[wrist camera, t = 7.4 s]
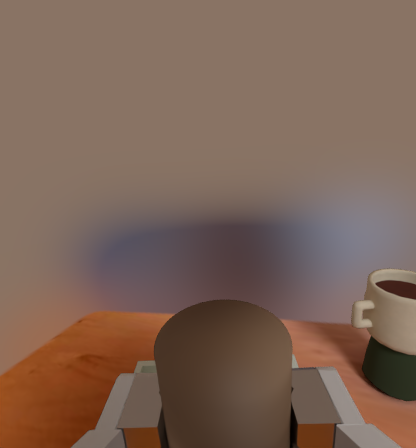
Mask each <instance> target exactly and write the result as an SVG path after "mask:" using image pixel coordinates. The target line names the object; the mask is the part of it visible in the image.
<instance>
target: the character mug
mask: <svg viewBox="0 0 416 448" xmlns="http://www.w3.org/2000/svg"><path fill="white" fill-rule="evenodd" d="M362 311H363V319H362ZM351 319H352V320H351V322H352V326H353V327H355V328H359V329H361V328H367V330H368V332H369V333H370V335H371V337H370V341H369V344H368V347H367V350H366V354H365V358H364V362H363V367H362V370H363V372H364V374H365V376H366V377H367V378H368V379H369V380H370V381H371V382H372V383H373V384H374V385H375V386H376V387H377V388H379V389H380V390H382V391H383V392H385V393H387V394H388V395H390V396H392V397H395V398H398V399H401V400H404V401H414V400H416V272H413V271H407V270H401V269H380V270H376V271H373V272H372V273H371V274H369V276H368V281H367V290H366V293H365V295H364V300H362V301H356V302H354V304H353V308H352V318H351Z"/></svg>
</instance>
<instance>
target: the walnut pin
mask: <svg viewBox="0 0 416 448" xmlns="http://www.w3.org/2000/svg"><path fill="white" fill-rule="evenodd" d="M154 358H155V364H156V370H157V377H158V383H159V389H160V396H161V402H162V408H163V414H164V421H165V427H166V433H167V439H168V446H169V448H290V425H291V387H292V341H291V337H290V334H289V332H288V330H287V328H286V327H285V326H284V324H283V323H282V322H281V321H280V320H279V319H278V318H277V317H276V316H275V315H274V314H272V313H271V312H269V311H267V310H265V309H264V308H262V307H259V306H257V305H254V304H251V303H248V302H243V301H237V300H213V301H207V302H202V303H199V304H196V305H193V306H191V307H188V308H186V309H184V310H182V311H180V312H179V313H177V314H175V315H174V316H173V317H172V318H170V319H169V320H168V321H167V322H166V323H165V325H164V326H163V327H162V328H161V330H160V332H159V333H158V335H157V338H156V341H155V345H154Z"/></svg>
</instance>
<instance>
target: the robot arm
mask: <svg viewBox="0 0 416 448" xmlns="http://www.w3.org/2000/svg"><path fill="white" fill-rule="evenodd" d="M71 448H169V446H168V439H167V433H166V427H165V421H164V414H163V408H162V402H161V396H160V389H159V383H158V377H157V373H121V374H120V375H119V376H118V377H117V379H116V381H115V384H114V386H113V388H112V391H111V393H110V395H109V398H108V400H107V402H106V405H105V407H104V409H103V412H102V414H101V416H100V419H99V421H98V423H97V425H96V428H95V430H89V431H88V432H87V433H86V434H84V435H83V436H82V437H81V438H80V439H79V440H78V441H77V442H76V443H75V444H74V445H73V446H72V447H71ZM290 448H401V447H400V446H399V445H398V444H396V443H395V442H394V441H393V440H391V439H390V438H389V437H388V436H386V435H385V434H384V433H383V432H381V431H380V430H379V429H378V428H377V427H375V426H374V425H373V424H366V423H365V421H364V420H363V418H362V416H361V414H360V412H359V410H358V409H357V407H356V405H355V403H354V401H353V399H352V398H351V396H350V394H349V392H348V390H347V388H346V387H345V385H344V383H343V381H342V379H341V377H340V376H339V374H338V372H337V370H336V369H335V368H334V367H315V368H314V367H308V368H292V387H291V425H290Z"/></svg>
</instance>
